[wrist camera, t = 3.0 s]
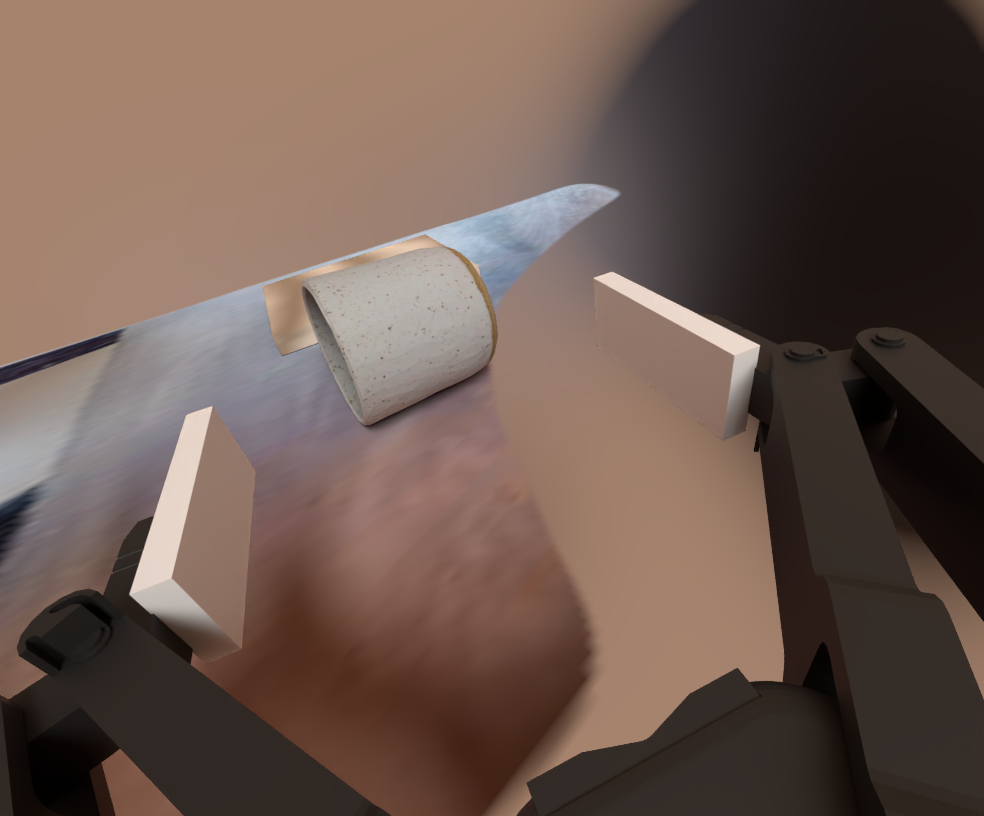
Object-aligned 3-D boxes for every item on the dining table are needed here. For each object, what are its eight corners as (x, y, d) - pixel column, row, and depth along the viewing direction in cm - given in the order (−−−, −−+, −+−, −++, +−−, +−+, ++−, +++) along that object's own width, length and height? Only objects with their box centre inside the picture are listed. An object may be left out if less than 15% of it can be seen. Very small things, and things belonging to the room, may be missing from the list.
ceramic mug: (518, 381, 26) (491, 239, 21) (381, 453, 23) (318, 305, 18) (432, 327, 34) (399, 215, 29) (322, 375, 31) (268, 259, 26)
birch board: (282, 355, 34) (272, 337, 33) (270, 301, 44) (262, 286, 43) (481, 283, 38) (478, 265, 37) (429, 249, 48) (425, 234, 47)
